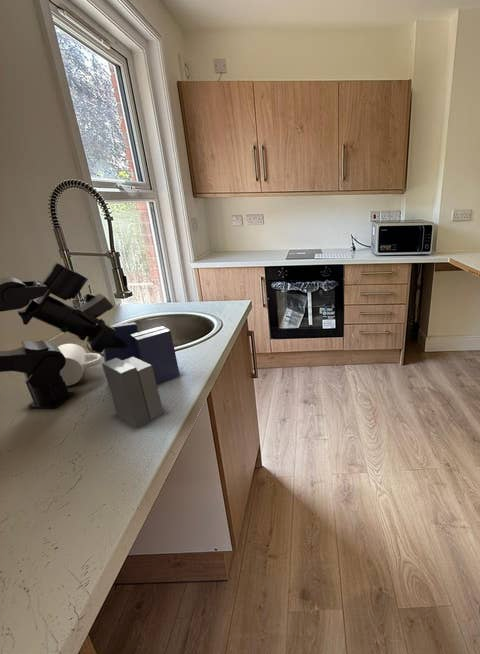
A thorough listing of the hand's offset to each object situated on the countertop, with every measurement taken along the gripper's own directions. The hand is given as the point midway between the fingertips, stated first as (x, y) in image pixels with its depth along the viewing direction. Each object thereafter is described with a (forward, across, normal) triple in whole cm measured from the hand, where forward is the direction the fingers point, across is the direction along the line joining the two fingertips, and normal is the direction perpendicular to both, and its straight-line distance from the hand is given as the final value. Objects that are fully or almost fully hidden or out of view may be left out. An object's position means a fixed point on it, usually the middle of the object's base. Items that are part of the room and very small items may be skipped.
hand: (125, 344), depth 91 cm
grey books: (+2, -22, +10) cm, 24 cm away
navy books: (+9, -8, +3) cm, 13 cm away
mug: (-1, +9, +13) cm, 16 cm away
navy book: (+4, 0, +6) cm, 8 cm away
